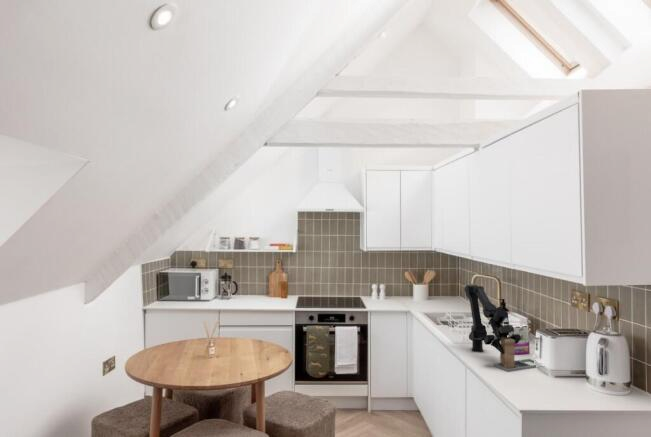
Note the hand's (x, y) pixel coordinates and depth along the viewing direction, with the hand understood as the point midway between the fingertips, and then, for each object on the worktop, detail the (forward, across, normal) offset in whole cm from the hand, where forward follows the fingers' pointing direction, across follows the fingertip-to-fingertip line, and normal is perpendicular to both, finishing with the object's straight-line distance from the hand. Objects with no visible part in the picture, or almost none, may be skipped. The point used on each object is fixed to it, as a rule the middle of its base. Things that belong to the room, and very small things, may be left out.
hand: (508, 353), depth 221 cm
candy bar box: (-12, +21, +24) cm, 35 cm away
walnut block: (+4, 0, +6) cm, 8 cm away
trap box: (+3, +8, +8) cm, 12 cm away
